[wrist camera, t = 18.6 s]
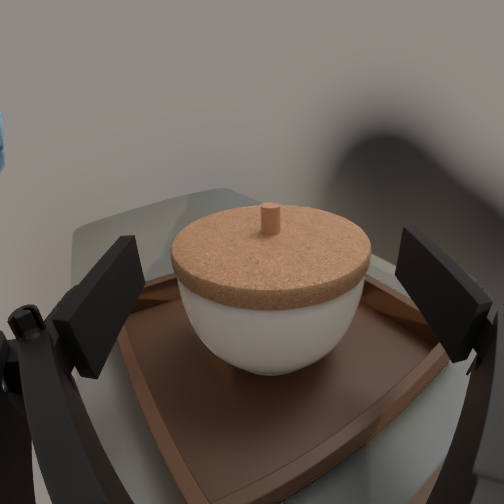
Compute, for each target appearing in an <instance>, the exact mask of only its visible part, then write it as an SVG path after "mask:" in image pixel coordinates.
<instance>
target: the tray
mask: <svg viewBox="0 0 504 504" xmlns="http://www.w3.org/2000/svg"><path fill="white" fill-rule="evenodd" d="M117 340H118V343H119V347H120V350H121V353H122V356H123V359H124V362H125V365H126V368H127V371H128V374H129V377H130V380H131V382H132V385H133V388H134V391H135V393H136V396H137V398H138V401H139V404H140V406H141V409H142V411H143V414H144V416H145V418H146V421H147V423H148V425H149V428H150V430H151V432H152V435H153V437H154V439H155V441H156V443H157V446H158V448H159V450H160V452H161V454H162V456H163V458H164V460H165V462H166V464H167V466H168V468H169V470H170V472H171V474H172V476H173V478H174V480H175V482H176V484H177V486H178V487H179V489H180V491H181V493H182V495H183V496H184V498H185V500H186V502H187V503H188V504H277V503H278V502H280V501H282V500H284V499H285V498H287V497H289V496H291V495H292V494H294V493H296V492H297V491H299V490H300V489H302V488H304V487H305V486H307V485H308V484H310V483H311V482H313V481H315V480H316V479H318V478H319V477H321V476H322V475H323V474H325V473H326V472H328V471H329V470H331V469H332V468H333V467H335V466H336V465H338V464H339V463H340V462H342V461H343V460H344V459H346V458H347V457H348V456H350V455H351V454H352V453H354V452H355V451H356V450H357V449H359V448H360V447H361V446H362V445H364V444H365V443H366V442H367V441H369V440H370V439H371V438H372V437H373V436H374V435H376V434H377V433H378V432H379V431H380V430H381V429H383V428H384V427H385V426H386V425H387V424H388V423H389V422H390V421H392V420H393V419H394V418H395V417H396V416H397V415H398V414H399V413H400V412H401V411H402V410H403V409H404V408H405V407H406V406H407V405H408V404H409V403H410V402H411V401H412V400H413V399H414V398H415V397H416V396H417V395H418V394H419V393H420V392H421V391H422V390H423V389H424V388H425V387H426V386H427V385H428V384H429V383H430V382H431V380H432V379H433V378H434V377H435V376H436V375H437V374H438V373H439V372H440V370H441V369H442V368H443V367H444V366H445V365H446V363H447V362H448V361H449V360H450V358H449V357H448V355H447V353H446V352H445V350H444V348H443V347H442V345H441V343H440V342H439V340H438V339H437V337H436V335H435V334H434V332H433V331H432V329H431V327H430V326H429V324H428V323H427V321H426V320H425V318H424V317H423V315H422V314H421V312H420V311H419V309H418V308H417V306H416V305H415V303H414V302H413V300H412V299H410V298H408V297H406V296H405V295H403V294H401V293H399V292H397V291H396V290H394V289H392V288H390V287H389V286H387V285H385V284H383V283H381V282H380V281H378V280H376V279H374V278H372V277H371V276H369V275H367V274H366V275H365V280H364V286H363V291H362V295H361V299H360V302H359V305H358V308H357V311H356V314H355V316H354V318H353V320H352V322H351V324H350V326H349V328H348V330H347V332H346V334H345V335H344V336H343V338H342V339H341V340H340V341H339V343H338V344H337V345H336V346H335V348H334V349H333V350H331V351H330V352H329V353H328V354H327V355H325V356H324V357H323V358H321V359H320V360H318V361H317V362H315V363H313V364H311V365H309V366H307V367H304V368H302V369H299V370H297V371H294V372H292V373H288V374H284V375H277V376H265V375H258V374H254V373H251V372H248V371H246V370H243V369H240V368H238V367H235V366H233V365H231V364H229V363H227V362H226V361H224V360H222V359H221V358H219V357H218V356H217V355H215V354H214V353H213V352H212V351H211V350H210V349H209V348H208V347H207V346H206V345H205V344H204V343H203V341H202V340H201V339H200V337H199V336H198V335H197V333H196V332H195V330H194V328H193V326H192V324H191V322H190V320H189V318H188V315H187V312H186V310H185V307H184V304H183V302H182V298H181V294H180V290H179V286H178V281H177V277H176V274H175V273H172V274H169V275H166V276H163V277H159V278H156V279H153V280H150V281H146V282H145V286H144V287H143V289H142V291H141V293H140V295H139V297H138V298H137V300H136V302H135V304H134V306H133V308H132V310H131V312H130V314H129V316H128V318H127V319H126V321H125V323H124V325H123V327H122V329H121V331H120V333H119V335H118V337H117Z"/></svg>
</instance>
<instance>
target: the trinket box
mask: <svg viewBox="0 0 504 504" xmlns="http://www.w3.org/2000/svg"><path fill="white" fill-rule="evenodd" d="M370 257H371V244H370V241H369V239H368V237H367V236H366V234H365V233H364V232H363V231H362V230H361V229H360V228H359V227H358V226H357V225H355V224H354V223H352V222H351V221H349V220H347V219H345V218H343V217H340V216H338V215H335V214H332V213H329V212H326V211H323V210H318V209H313V208H308V207H302V206H291V205H280V204H278V203H274V202H268V203H263V204H261V205H254V206H246V207H239V208H233V209H229V210H225V211H221V212H217V213H214V214H210V215H208V216H205V217H203V218H201V219H198V220H196V221H194V222H192V223H191V224H189V225H188V226H186V227H185V228H184V229H183V230H181V231H180V232H179V233H178V234H177V236H176V237H175V239H174V241H173V243H172V246H171V261H172V266H173V269H174V272H175V274H176V277H177V281H178V286H179V290H180V294H181V298H182V302H183V304H184V307H185V310H186V312H187V315H188V318H189V320H190V322H191V324H192V326H193V328H194V330H195V332H196V333H197V335H198V336H199V337H200V339H201V340H202V341H203V343H204V344H205V345H206V346H207V347H208V348H209V349H210V350H211V351H212V352H213V353H214V354H215V355H217V356H218V357H219V358H221V359H222V360H224V361H226V362H227V363H229V364H231V365H233V366H235V367H238V368H240V369H243V370H246V371H248V372H251V373H254V374H258V375H265V376H277V375H284V374H288V373H292V372H294V371H297V370H299V369H302V368H304V367H307V366H309V365H311V364H313V363H315V362H317V361H318V360H320V359H321V358H323V357H324V356H325V355H327V354H328V353H329V352H330V351H331V350H333V349H334V348H335V346H336V345H337V344H338V343H339V341H340V340H341V339H342V338H343V336H344V335H345V334H346V332H347V330H348V328H349V326H350V324H351V322H352V320H353V318H354V316H355V314H356V311H357V308H358V305H359V302H360V299H361V295H362V291H363V286H364V280H365V275H366V272H367V270H368V268H369V263H370Z"/></svg>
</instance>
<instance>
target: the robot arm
mask: <svg viewBox="0 0 504 504" xmlns="http://www.w3.org/2000/svg"><path fill="white" fill-rule="evenodd" d="M3 146H4V145H3V127H2V113H1V110H0V172H1V171H2V170H3V168H4V165H5V159H4V147H3ZM395 276H396V277H397V279H398V280H399V282H400V283H401V284H402V286H403V287H404V289H405V290H406V292H407V293H408V294H409V296H410V297H411V299H412V300H413V302H414V303H415V305H416V306H417V308H418V309H419V311H420V312H421V314H422V315H423V317H424V318H425V320H426V321H427V323H428V324H429V326H430V327H431V329H432V331H433V332H434V334H435V335H436V337H437V339H438V340H439V342H440V343H441V345H442V347H443V348H444V350H445V352H446V353H447V355H448V357H449V358H450V360H451V362H452V363H456V362H460V361H463V360H467V358H468V356H469V354H470V352H471V350H472V348H473V349H474V350H475V351H476V353H477V355H476V357H475V358H474V360H473V362H472V364H471V366H470V368H469V369H468V371H467V373H466V375H469V373H470V372H471V375H470V380H469V384H468V388H467V392H466V396H465V400H464V404H463V408H462V411H461V415H460V418H459V421H458V425H457V428H456V431H455V434H454V437H453V440H452V443H451V446H450V448H449V451H448V454H447V457H446V459H445V462H444V464H443V467H442V469H441V472H440V474H439V476H438V479H437V481H436V483H435V485H434V488H433V490H432V492H431V494H430V496H429V498H428V500H427V502H426V504H504V305H500V304H499V303H498V302H497V301H496V300H495V299H494V298H493V297H492V296H491V294H489V292H488V291H487V290H485V289H484V287H483V286H482V285H481V284H479V282H478V281H477V280H476V279H475V278H474V277H473V276H472V275H470V274H469V273H467V272H465V271H464V270H462V269H461V268H460V267H459V266H458V265H457V264H456V263H455V262H454V261H453V260H452V259H451V258H450V257H449V256H448V255H447V254H446V253H445V252H444V251H443V250H442V249H441V248H439V247H438V246H437V245H436V244H435V243H434V242H433V241H432V240H431V239H429V238H428V237H427V236H426V235H425V234H424V233H423V232H422V231H421V230H419V229H418V228H417V227H416V226H415V227H414V226H413V227H411V226H409V227H403V232H402V238H401V244H400V250H399V255H398V261H397V266H396V271H395ZM144 286H145V280H144V276H143V272H142V267H141V263H140V258H139V254H138V249H137V245H136V240H135V235H130V236H120V238H119V239H118V240H117V241H116V242H115V243H114V244H113V245H112V246H111V247H110V249H109V250H108V251H107V252H106V253H105V254H104V255H103V256H102V258H101V259H100V260H99V261H98V262H97V263H96V265H95V266H94V267H93V268H92V269H91V270H90V272H89V273H88V274H87V275H86V276H85V278H84V279H83V280H82V281H81V282H80V284H79V285H76V286H74V287H73V288H72V289H70V290H69V291H68V292H67V293H66V294H65V295H64V296H63V298H62V300H61V301H59V302H58V304H57V306H55V308H54V309H53V310H52V312H51V313H50V314H49V315H48V317H47V318H46V319H45V320H44V321H43V319H42V317H41V315H40V312H39V310H38V308H37V306H35V305H25V306H22V307H20V308H18V309H16V310H15V311H14V312H13V313H12V314H11V315H10V316H9V318H8V321H7V322H8V324H9V326H10V327H11V330H12V331H13V333H14V335H15V337H16V339H12V340H7V339H6V337H5V335H4V333H3V332H2V331H0V504H36V502H35V495H34V484H33V470H32V441H33V445H34V449H35V453H36V457H37V460H38V464H39V467H40V470H41V473H42V476H43V479H44V482H45V485H46V488H47V491H48V494H49V496H50V499H51V501H52V504H134V503H133V501H132V500H131V498H130V496H129V495H128V493H127V491H126V490H125V488H124V486H123V485H122V483H121V481H120V479H119V478H118V476H117V474H116V472H115V470H114V468H113V467H112V465H111V463H110V461H109V459H108V457H107V455H106V453H105V451H104V449H103V447H102V445H101V443H100V441H99V438H98V436H97V434H96V432H95V430H94V427H93V425H92V423H91V420H90V418H89V416H88V413H87V411H86V408H85V406H84V403H83V401H82V398H81V396H80V393H79V390H78V387H77V385H76V382H75V379H74V377H73V376H72V374H71V372H72V370H73V368H74V367H76V369H77V371H78V372H79V374H80V376H81V377H86V378H92V379H98V377H99V375H100V373H101V370H102V368H103V366H104V364H105V362H106V360H107V358H108V356H109V354H110V352H111V349H112V347H113V345H114V343H115V341H116V339H117V337H118V335H119V333H120V331H121V329H122V327H123V325H124V323H125V321H126V319H127V318H128V316H129V314H130V312H131V310H132V308H133V306H134V304H135V302H136V300H137V298H138V297H139V295H140V293H141V291H142V289H143V287H144ZM2 384H3V385H4V390H3V386H2Z"/></svg>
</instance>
